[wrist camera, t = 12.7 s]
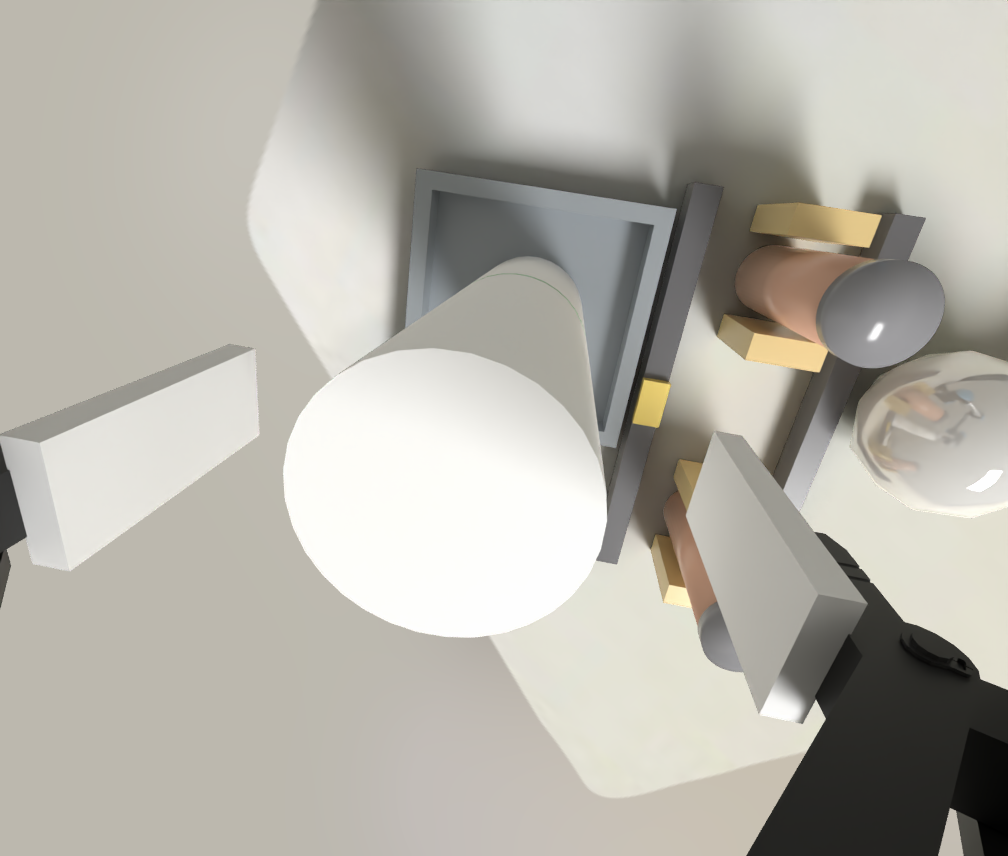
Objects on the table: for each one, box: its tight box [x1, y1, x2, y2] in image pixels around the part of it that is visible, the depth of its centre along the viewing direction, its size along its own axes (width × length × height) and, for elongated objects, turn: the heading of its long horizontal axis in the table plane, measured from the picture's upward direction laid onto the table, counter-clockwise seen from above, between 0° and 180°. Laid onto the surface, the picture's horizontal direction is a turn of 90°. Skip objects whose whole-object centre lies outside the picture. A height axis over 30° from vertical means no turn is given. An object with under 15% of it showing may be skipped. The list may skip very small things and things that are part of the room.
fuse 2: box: [735, 245, 945, 368], centre depth 27 cm, size 4×4×13 cm
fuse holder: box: [596, 182, 926, 608], centre depth 33 cm, size 26×13×6 cm, turn 172°
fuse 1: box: [663, 491, 743, 672], centre depth 33 cm, size 4×4×13 cm
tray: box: [405, 168, 677, 448], centre depth 34 cm, size 15×15×2 cm
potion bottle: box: [850, 350, 1008, 518], centre depth 30 cm, size 9×10×15 cm
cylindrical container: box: [283, 256, 607, 637], centre depth 23 cm, size 7×7×25 cm
